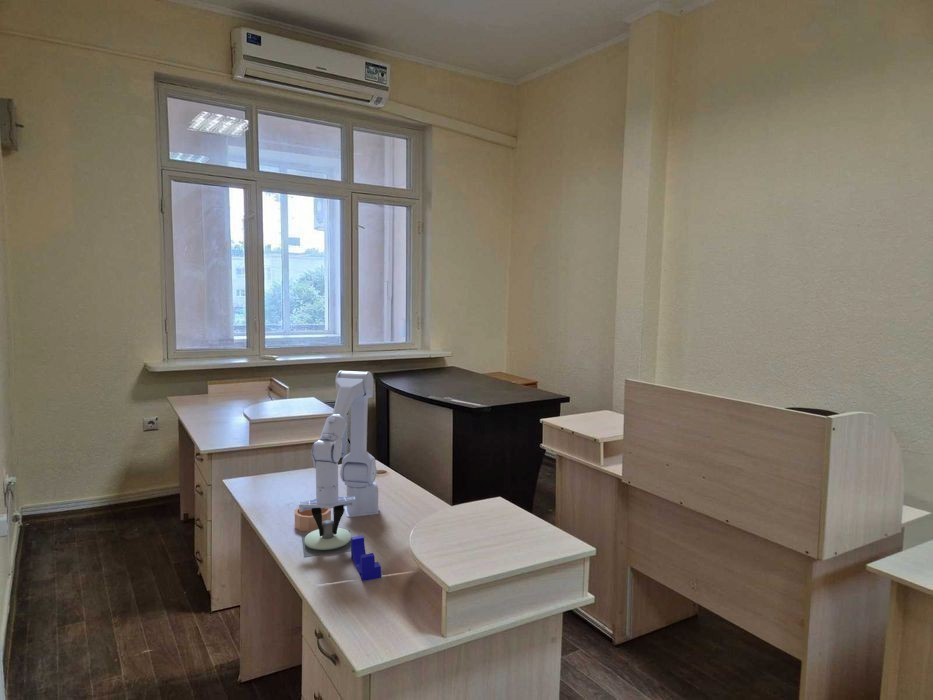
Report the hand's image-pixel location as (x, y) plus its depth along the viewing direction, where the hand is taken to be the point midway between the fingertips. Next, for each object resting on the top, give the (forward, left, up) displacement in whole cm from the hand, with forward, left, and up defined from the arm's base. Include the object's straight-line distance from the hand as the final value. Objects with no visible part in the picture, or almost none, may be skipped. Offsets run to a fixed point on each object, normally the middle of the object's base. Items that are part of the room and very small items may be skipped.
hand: (327, 533), depth 155 cm
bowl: (+3, -14, -3) cm, 15 cm away
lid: (0, 0, -2) cm, 2 cm away
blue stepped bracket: (-8, +16, -3) cm, 18 cm away
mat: (0, 0, -3) cm, 3 cm away
